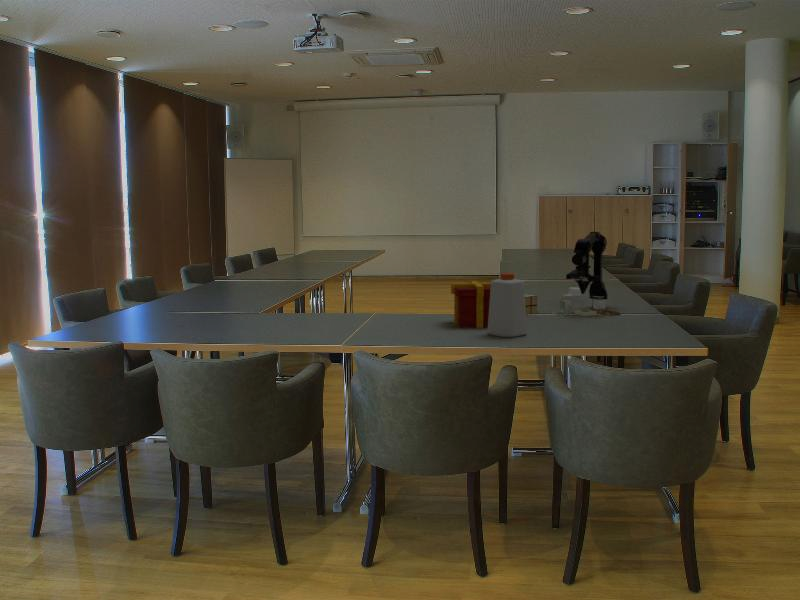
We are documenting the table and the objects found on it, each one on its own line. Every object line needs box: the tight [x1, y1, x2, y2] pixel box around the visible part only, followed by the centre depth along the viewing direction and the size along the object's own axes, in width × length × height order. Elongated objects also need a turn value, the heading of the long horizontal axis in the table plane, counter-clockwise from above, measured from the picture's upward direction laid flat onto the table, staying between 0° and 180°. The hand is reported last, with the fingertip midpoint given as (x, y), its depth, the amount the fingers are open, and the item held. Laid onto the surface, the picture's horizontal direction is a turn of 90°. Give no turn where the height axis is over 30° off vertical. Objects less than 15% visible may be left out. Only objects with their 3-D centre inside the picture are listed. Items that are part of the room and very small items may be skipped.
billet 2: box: [592, 299, 607, 311], centre depth 420 cm, size 4×4×7 cm
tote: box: [550, 311, 575, 317], centre depth 419 cm, size 11×11×1 cm
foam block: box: [561, 286, 583, 303], centre depth 475 cm, size 10×10×8 cm
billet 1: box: [559, 300, 573, 315], centre depth 419 cm, size 4×4×7 cm
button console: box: [574, 309, 598, 317], centre depth 413 cm, size 8×8×3 cm
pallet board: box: [588, 308, 622, 317], centre depth 416 cm, size 18×10×3 cm, turn 22°
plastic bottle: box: [486, 272, 528, 339], centre depth 362 cm, size 15×15×28 cm
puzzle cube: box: [525, 293, 538, 315], centre depth 425 cm, size 10×10×10 cm
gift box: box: [450, 280, 491, 329], centre depth 392 cm, size 25×25×20 cm
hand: (582, 293), depth 413 cm, fingers closed
